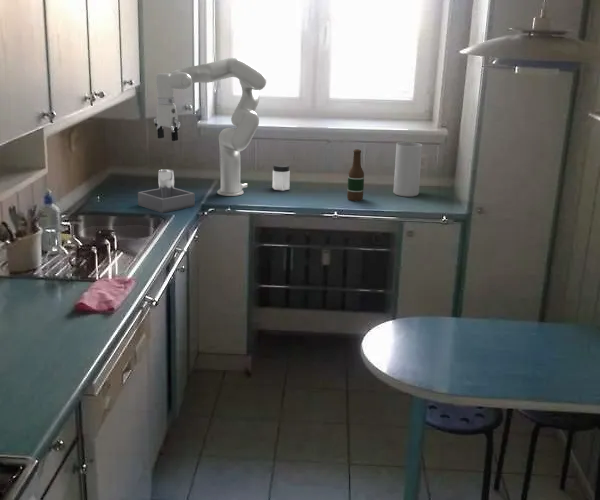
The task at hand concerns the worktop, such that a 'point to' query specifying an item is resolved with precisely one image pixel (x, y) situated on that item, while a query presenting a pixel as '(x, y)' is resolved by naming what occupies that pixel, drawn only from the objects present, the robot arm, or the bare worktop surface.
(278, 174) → the jar
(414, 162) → the cylinder vase
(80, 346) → the worktop surface
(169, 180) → the beer glass
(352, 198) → the beer bottle
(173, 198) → the bin
